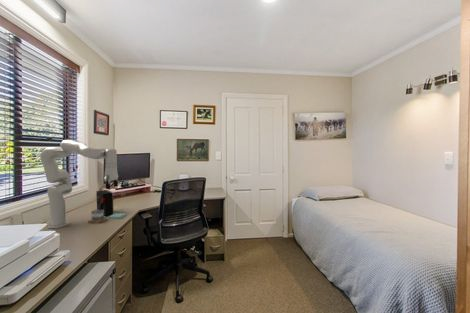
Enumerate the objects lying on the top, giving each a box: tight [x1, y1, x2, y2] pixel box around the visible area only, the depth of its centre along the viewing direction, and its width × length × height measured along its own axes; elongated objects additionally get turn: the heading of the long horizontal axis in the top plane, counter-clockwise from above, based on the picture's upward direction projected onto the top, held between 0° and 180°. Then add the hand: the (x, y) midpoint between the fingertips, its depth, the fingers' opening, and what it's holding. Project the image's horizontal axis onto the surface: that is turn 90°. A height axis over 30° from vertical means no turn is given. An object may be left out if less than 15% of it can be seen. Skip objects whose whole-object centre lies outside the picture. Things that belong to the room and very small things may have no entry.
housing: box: [91, 208, 105, 220], centre depth 186 cm, size 7×5×7 cm
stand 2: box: [107, 212, 127, 220], centre depth 197 cm, size 10×10×2 cm
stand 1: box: [87, 216, 109, 224], centre depth 187 cm, size 10×10×2 cm
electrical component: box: [96, 189, 116, 217], centre depth 206 cm, size 18×10×20 cm, turn 47°
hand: (111, 187), depth 175 cm, fingers open, 9 cm apart
